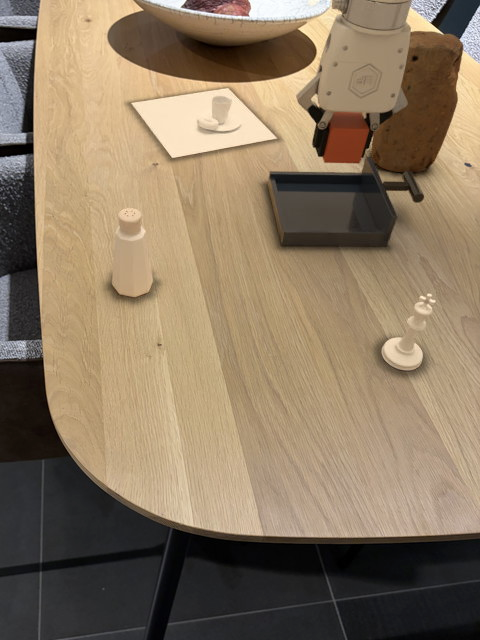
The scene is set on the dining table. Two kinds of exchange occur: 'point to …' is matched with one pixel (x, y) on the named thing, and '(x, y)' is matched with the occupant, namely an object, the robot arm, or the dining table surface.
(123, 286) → the pepper shaker
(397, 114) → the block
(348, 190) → the tipping dish
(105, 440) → the dining table surface
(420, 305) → the chess piece
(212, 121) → the teacup and saucer
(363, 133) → the terracotta block
